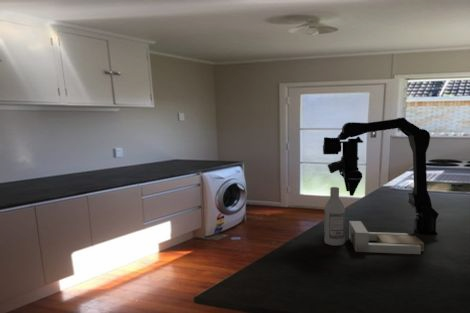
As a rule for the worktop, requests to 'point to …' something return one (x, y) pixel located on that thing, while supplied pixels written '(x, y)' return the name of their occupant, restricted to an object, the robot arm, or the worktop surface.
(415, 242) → the tan wooden block
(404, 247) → the canopy channel
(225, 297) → the worktop surface
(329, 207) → the bath foam
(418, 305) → the worktop surface
